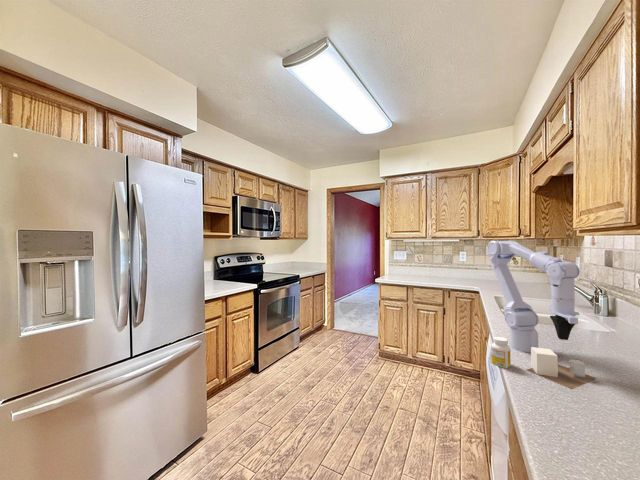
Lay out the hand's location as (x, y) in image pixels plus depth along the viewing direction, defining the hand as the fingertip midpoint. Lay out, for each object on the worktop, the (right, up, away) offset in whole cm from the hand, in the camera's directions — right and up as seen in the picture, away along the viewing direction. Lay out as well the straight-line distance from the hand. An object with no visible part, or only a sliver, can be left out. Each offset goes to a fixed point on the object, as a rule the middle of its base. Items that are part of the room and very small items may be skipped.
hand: (562, 339), depth 88 cm
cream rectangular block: (-8, -10, -3) cm, 13 cm away
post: (-1, -10, -6) cm, 11 cm away
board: (-5, -11, -4) cm, 12 cm away
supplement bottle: (-18, -11, +3) cm, 22 cm away
